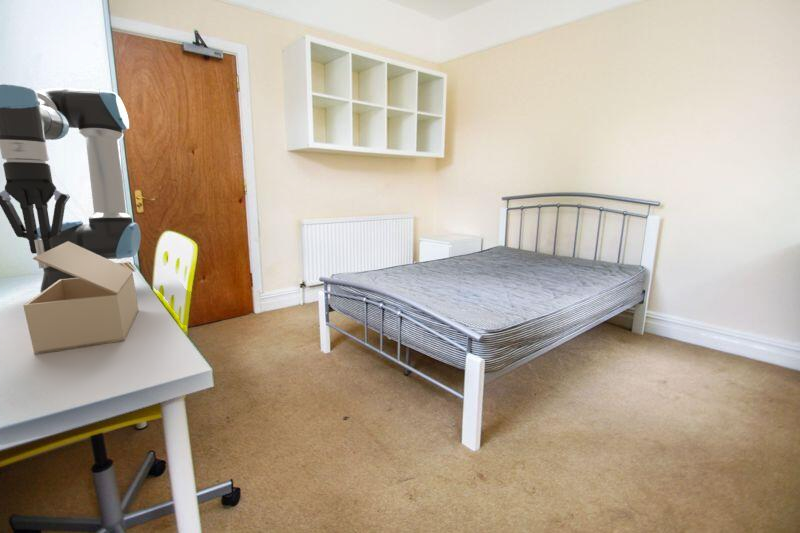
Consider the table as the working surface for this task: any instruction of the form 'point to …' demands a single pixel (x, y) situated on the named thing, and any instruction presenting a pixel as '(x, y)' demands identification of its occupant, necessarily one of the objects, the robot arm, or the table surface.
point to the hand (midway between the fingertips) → (45, 266)
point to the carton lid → (86, 266)
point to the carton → (80, 315)
